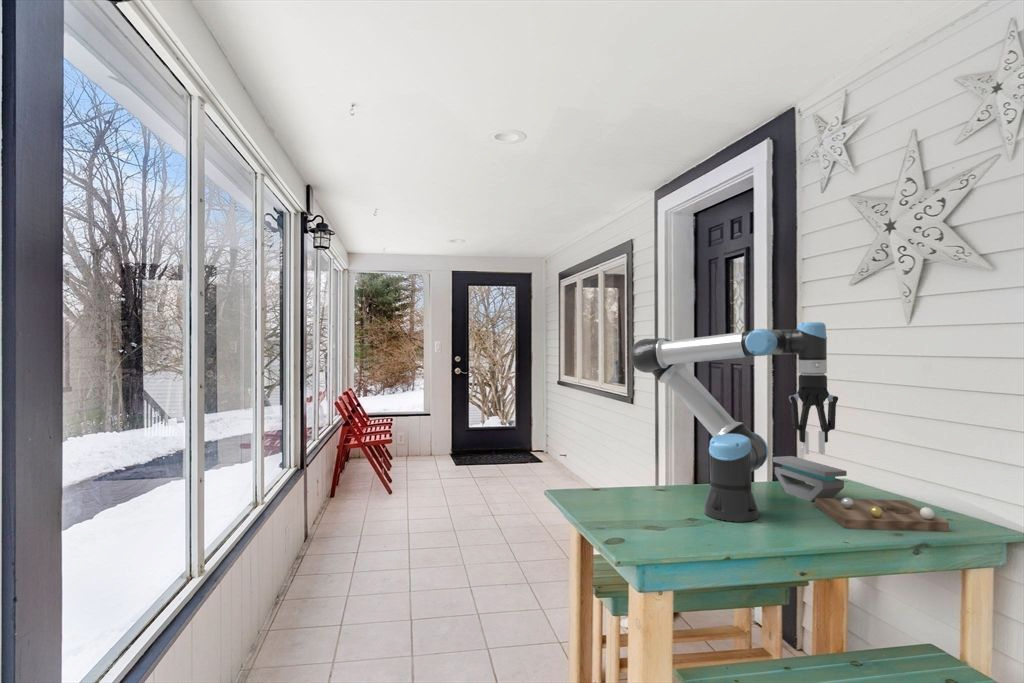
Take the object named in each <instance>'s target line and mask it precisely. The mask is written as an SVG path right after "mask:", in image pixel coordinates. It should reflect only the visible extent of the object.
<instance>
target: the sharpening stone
mask: <svg viewBox="0 0 1024 683" xmlns="http://www.w3.org/2000/svg"><path fill="white" fill-rule="evenodd" d="M772 462H773V463H775V464H780V465H782V466H775V467H774V475H775V476H776V478H777V479H778V482H779V483H780V485H781V487H782V488H783V490H784V492H785V493H786V494H789V495H791V496H794V497H797V498H800V499H802V500H804V499H805V500H804V501H807V500H808V502H810V501H811V502H815V498H835V496H837V495H838V494H840V492H841V491H843V489H844V488H845V480H843V479H840V478H836V477H847V473H848V472H847V470H846V469H845V470H844V469H841V468H840V469H839V468H836V467H834V466H830V465H826V464H822V463H820V462H816V461H812V460H808V459H803V458H801V457H798V456H793V455H787V456H786V455H785V456H773V457H772Z"/></svg>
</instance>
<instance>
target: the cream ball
mask: <svg viewBox="0 0 1024 683" xmlns="http://www.w3.org/2000/svg"><path fill="white" fill-rule="evenodd" d="M920 515H921V516H922V517H923V518H924V519H932V518H933V517H934V515H935V512H934V510H933V509H932V508H930V507H927V506H924V507H922V508H921V510H920Z"/></svg>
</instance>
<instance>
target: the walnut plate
mask: <svg viewBox="0 0 1024 683" xmlns="http://www.w3.org/2000/svg"><path fill="white" fill-rule="evenodd" d="M842 499H843V498H835V497H833V498H815V501H814V507H816V508H817V507H818V508H819V509H818V508H817V509H818V510H820V511H821V510H822V511H823V512H822V511H821V512H822V513H824V514H825V515H826V514H827V515H826V516H828V517H829V518H830V517H831V518H830V519H832V520H833V521H835V522H836V523H837V524H839V525H840V526H841V527H843V528H844V529H853V530H883V531H884V530H887V531H910V532H911V531H912V532H913V531H915V532H916V531H918V532H943V533H945V532H946V533H948V532H949V530H950V529H949V528H950V526H949V524H950V522H948V521H947V520H944V519H943V518H940V517H939V516H937V515H935V514H934V517H933V518H932V519H924V518H923V517H922V516H921V515H920V510H921V509H922V508H921V507H919V506H917V505H915V504H913V503H912V502H909V501H907V500H905V499H872V498H871V499H870V498H850V499H851V500H852V501H853V507H852V508H850V509H846V508H844V507H843V506H842V505H841V500H842ZM872 506H878V507H880V508H881V509H882V512H883V514H882V516H881V517H879V518H874V517H872V516H871V515H870V513H869V509H870V508H871V507H872Z"/></svg>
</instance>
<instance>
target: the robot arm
mask: <svg viewBox="0 0 1024 683" xmlns="http://www.w3.org/2000/svg"><path fill="white" fill-rule="evenodd" d="M827 340H828V337H827V329H826V324H825V323H824V322H822V321H821V322H820V321H816V322H815V321H814V322H812V321H811V322H810V321H809V322H808V321H807V322H799V323H798V324H797V327H796V328H795V329H766V328H759V329H758V328H757V329H754V330H749V331H748V330H747V331H740V332H731V333H724V334H716V335H715V334H714V335H708V336H707V335H706V336H699V337H691V338H683V339H677V340H676V339H675V340H671V339H668V338H664V337H657V338H643V339H639V340H638V341H637V342H635V343H634V344H633V346H632V348H631V349H630V352H629V358H630V362H631V364H632V367H634V368H635V369H636V370H638V371H640V372H642V373H645V374H646V373H649V374H650V373H651V374H653V376H654V377H655V378H656V379H657V381H658V382H659V383H664V384H667V385H668V387H670V389H672V391H673V392H674V394H675V395H676V396H677V397H678V398H679V399H680V400H681V401H682V403H683V404H684V405H685V406H686V407H687V408H688V410H689V411H690V412H691V413H692V414H693V415H694V417H695V418H696V419H697V421H699V422H700V423H701V424H702V425H703V427H705V429H706V430H707V432H708V433H709V434H710V435H711V436H712V437H711V439H710V440H709V447H708V454H709V489H708V493H707V496H706V499H705V501H704V505H703V507H704V508H703V510H704V511H703V512H705V513H704V515H706V514H707V515H708V516H707V515H706V516H707V517H709V516H710V517H709V518H712V519H715V520H719V519H721V520H720V521H724V520H726V522H732V521H734V522H735V523H739V522H740V523H745V522H747V523H748V522H752V521H755V520H757V519H758V518H759V508H758V505H757V503H756V500H755V497H754V493H753V490H752V472H754V471H757V470H759V469H760V468H761V467H762V466H763V465H764V463H766V461H767V459H768V456H769V448H768V445H767V443H766V441H765V439H764V438H763V437H762V436H760V434H758V433H756V432H752V431H751V430H750V429H749V428H748V426H746V424H744V422H742V421H741V422H740V421H736V420H735V419H734V418H733V417H732V416H731V415H730V413H728V412H727V411H726V409H725V408H724V407H723V406H722V405H721V404H720V403H719V402H718V401H717V399H716V398H715V397H714V396H713V395H712V394H711V393H710V392H709V391H708V389H707V388H706V387H705V386H704V385H703V383H701V382H700V380H698V378H697V377H696V376H695V375H694V374H693V373H692V372H691V370H689V368H688V367H687V364H688V363H689V364H691V363H698V362H708V361H718V360H727V359H738V358H747V357H750V358H751V357H762V356H765V357H766V356H768V355H769V356H773V355H797V356H798V358H797V361H798V365H797V366H798V368H797V370H798V374H799V375H798V390H797V393H795V394H793V395H788V398H787V399H788V401H789V403H790V414H791V427H792V428H793V429H795V430H798V437H799V438H798V439H799V442H801V443H802V453H803V454H806V455H809V454H810V452H809V451H810V450H809V449H810V448H809V447H810V440H809V436H810V435H809V433H810V432H809V431H807V430H806V429H807V426H808V420H809V415H810V410H811V408H812V406H813V407H814V406H815V409H816V412H817V416H818V421H819V426H820V430H817V432H818V435H817V436H818V437H817V438H818V439H817V440H818V441H817V442H818V453H819V454H821V455H826V443H828V442H829V433H830V431H831V430H832V431H833V430H835V429H836V415H837V413H836V412H837V403H838V401H839V396H836V395H833V394H830V392H829V391H828V376H827V375H826V374H827V373H828V364H827V362H828V361H827V360H828V358H827V357H828V356H827V354H828V353H827V352H828V351H827V346H828V341H827ZM799 400H800V401H801V402H802V405H801V414H800V418H799V406H798V402H799ZM826 400H827V401H828V403H827V404H828V406H827V417H826V412H825V404H824V402H826ZM799 419H800V420H799Z"/></svg>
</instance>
